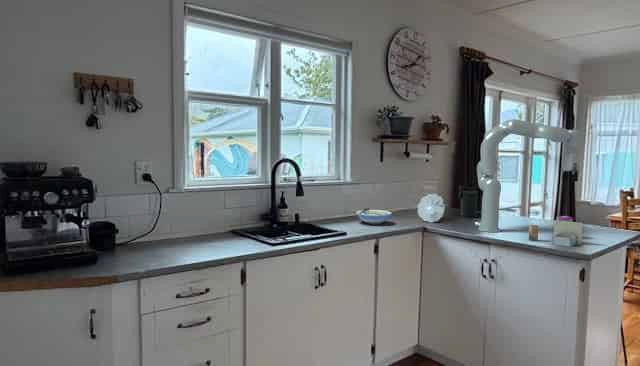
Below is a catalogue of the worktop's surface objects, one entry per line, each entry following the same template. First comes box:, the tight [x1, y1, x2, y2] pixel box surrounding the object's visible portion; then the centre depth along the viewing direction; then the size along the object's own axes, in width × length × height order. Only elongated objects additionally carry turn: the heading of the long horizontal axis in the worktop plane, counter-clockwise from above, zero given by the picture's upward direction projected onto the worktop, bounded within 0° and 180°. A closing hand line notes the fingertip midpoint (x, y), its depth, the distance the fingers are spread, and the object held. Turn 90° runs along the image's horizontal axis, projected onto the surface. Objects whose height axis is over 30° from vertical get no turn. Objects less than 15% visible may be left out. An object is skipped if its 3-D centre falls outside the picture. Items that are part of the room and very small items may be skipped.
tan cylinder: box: [528, 224, 540, 242], centre depth 224 cm, size 4×4×8 cm
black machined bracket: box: [457, 185, 478, 219], centre depth 307 cm, size 12×21×22 cm, turn 169°
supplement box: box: [556, 215, 574, 222], centre depth 234 cm, size 6×6×12 cm
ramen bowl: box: [356, 207, 392, 225], centre depth 272 cm, size 25×23×8 cm
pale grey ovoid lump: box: [417, 193, 446, 223], centre depth 287 cm, size 18×18×25 cm
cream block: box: [551, 219, 584, 247], centre depth 217 cm, size 13×11×11 cm
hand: (569, 180), depth 246 cm, fingers open, 9 cm apart
